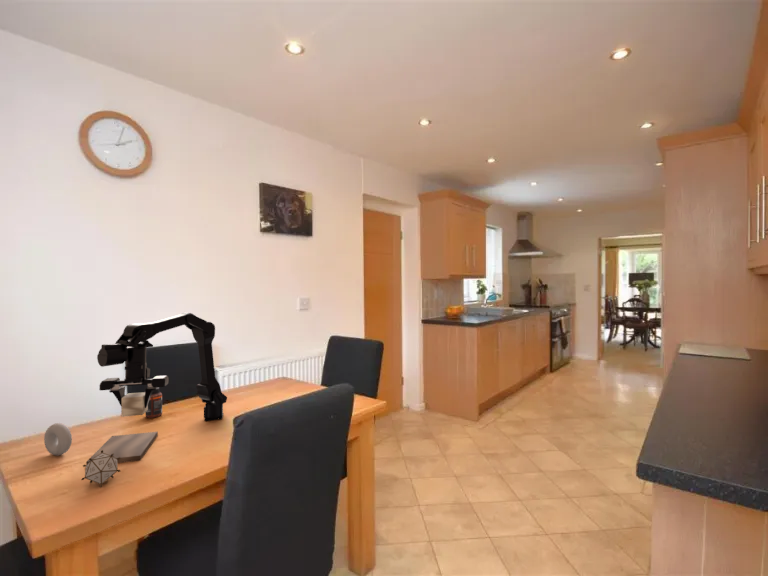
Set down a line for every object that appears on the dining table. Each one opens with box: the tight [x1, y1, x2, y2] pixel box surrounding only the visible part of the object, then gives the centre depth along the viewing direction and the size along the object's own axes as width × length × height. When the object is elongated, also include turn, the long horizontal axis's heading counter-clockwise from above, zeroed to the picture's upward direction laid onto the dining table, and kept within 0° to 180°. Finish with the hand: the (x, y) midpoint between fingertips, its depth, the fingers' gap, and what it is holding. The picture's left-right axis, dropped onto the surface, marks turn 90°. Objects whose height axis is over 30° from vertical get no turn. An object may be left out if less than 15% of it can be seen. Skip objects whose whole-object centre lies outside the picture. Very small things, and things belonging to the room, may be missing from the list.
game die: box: [80, 450, 121, 488], centre depth 103 cm, size 9×8×10 cm
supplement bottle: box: [145, 387, 163, 419], centre depth 156 cm, size 6×6×11 cm
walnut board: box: [85, 431, 159, 465], centre depth 124 cm, size 14×20×2 cm
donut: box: [43, 422, 73, 456], centre depth 120 cm, size 10×3×10 cm, turn 71°
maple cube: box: [120, 391, 148, 418], centre depth 127 cm, size 6×6×6 cm
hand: (134, 408), depth 127 cm, fingers closed on maple cube, 6 cm apart
